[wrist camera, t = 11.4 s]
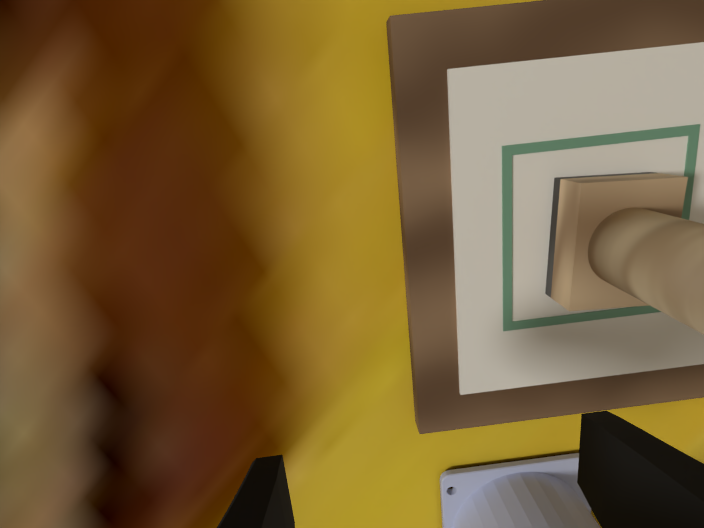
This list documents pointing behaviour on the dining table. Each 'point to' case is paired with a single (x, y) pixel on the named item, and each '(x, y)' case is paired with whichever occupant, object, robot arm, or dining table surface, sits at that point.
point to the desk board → (436, 191)
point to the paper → (536, 206)
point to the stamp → (626, 246)
